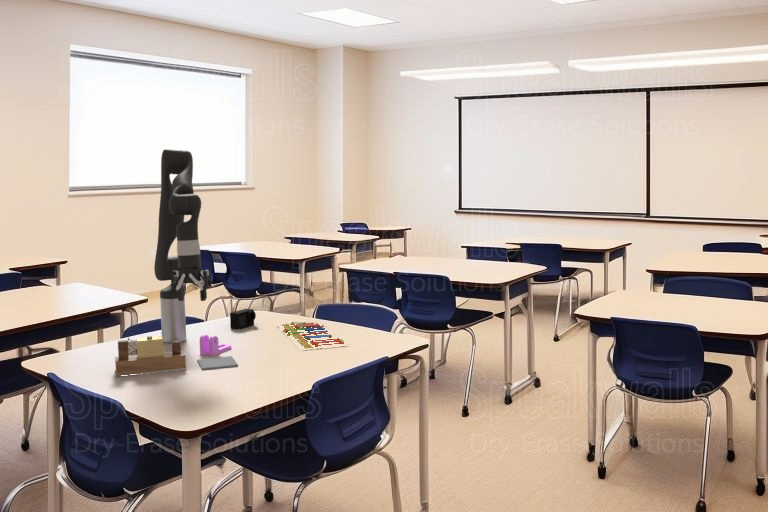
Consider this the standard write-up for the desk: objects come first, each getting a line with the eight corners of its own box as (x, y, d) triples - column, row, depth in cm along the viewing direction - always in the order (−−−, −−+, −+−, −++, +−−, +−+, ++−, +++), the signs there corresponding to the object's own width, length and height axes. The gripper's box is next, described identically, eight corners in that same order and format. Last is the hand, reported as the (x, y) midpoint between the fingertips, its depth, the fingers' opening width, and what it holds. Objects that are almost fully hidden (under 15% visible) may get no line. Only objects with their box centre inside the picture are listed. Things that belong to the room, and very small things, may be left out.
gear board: (276, 321, 315) (320, 318, 321) (276, 326, 315) (320, 323, 322) (300, 345, 273) (350, 341, 279) (300, 352, 273) (350, 347, 279)
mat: (197, 361, 259) (197, 359, 259) (231, 357, 264) (231, 356, 264) (202, 370, 248) (202, 368, 248) (238, 366, 253) (237, 364, 252)
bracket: (212, 356, 267) (211, 337, 266) (200, 354, 269) (199, 335, 268) (234, 347, 278) (233, 329, 277) (222, 346, 281) (221, 328, 280)
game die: (138, 370, 261) (155, 347, 261) (123, 368, 253) (141, 344, 254) (123, 355, 265) (140, 333, 265) (108, 352, 257) (125, 329, 257)
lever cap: (137, 355, 248) (136, 336, 247) (162, 353, 251) (161, 334, 250) (138, 358, 244) (137, 339, 243) (163, 356, 246) (162, 337, 246)
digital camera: (240, 330, 307) (239, 313, 306) (230, 328, 310) (229, 312, 309) (256, 325, 316) (256, 309, 315) (246, 324, 319) (246, 308, 318)
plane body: (115, 371, 247) (113, 339, 246) (184, 364, 255) (182, 333, 254) (116, 377, 240) (114, 344, 239) (186, 369, 248) (185, 337, 247)
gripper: (213, 251, 251) (216, 299, 253) (177, 252, 256) (180, 299, 257) (201, 254, 244) (204, 302, 246) (164, 255, 249) (167, 302, 250)
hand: (192, 300), depth 251 cm, fingers open, 8 cm apart
